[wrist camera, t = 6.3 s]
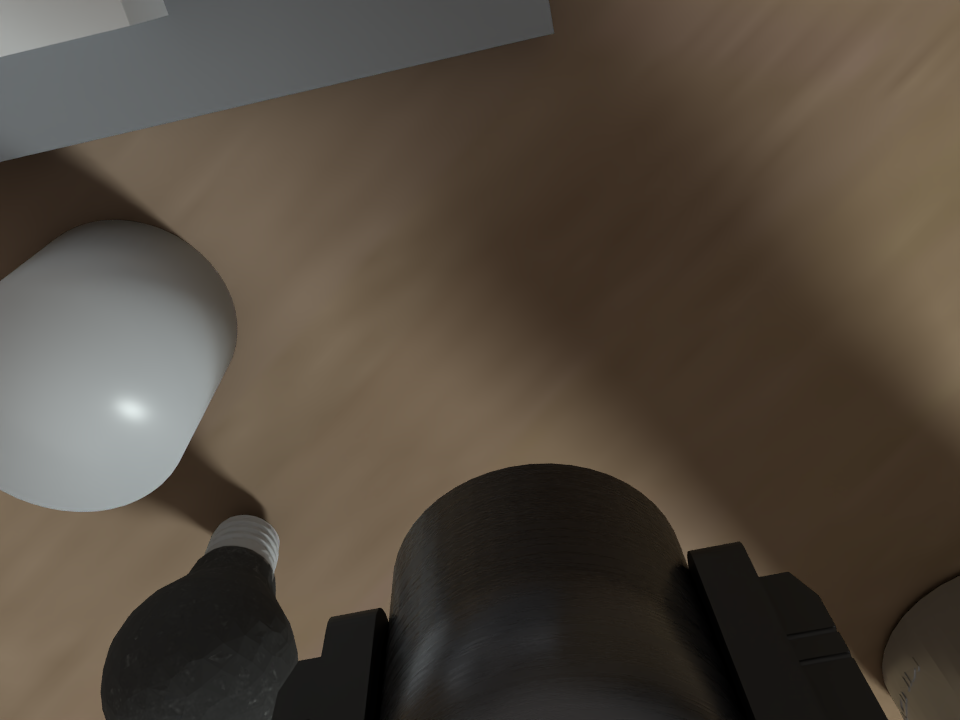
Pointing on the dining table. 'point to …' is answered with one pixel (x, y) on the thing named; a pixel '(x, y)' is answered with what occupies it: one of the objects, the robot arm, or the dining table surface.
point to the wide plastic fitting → (107, 363)
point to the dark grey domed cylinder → (549, 607)
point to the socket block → (215, 55)
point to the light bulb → (206, 637)
